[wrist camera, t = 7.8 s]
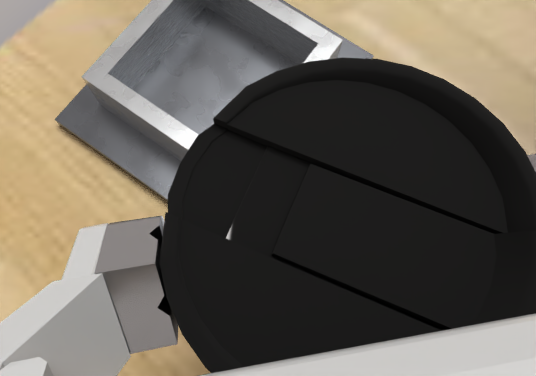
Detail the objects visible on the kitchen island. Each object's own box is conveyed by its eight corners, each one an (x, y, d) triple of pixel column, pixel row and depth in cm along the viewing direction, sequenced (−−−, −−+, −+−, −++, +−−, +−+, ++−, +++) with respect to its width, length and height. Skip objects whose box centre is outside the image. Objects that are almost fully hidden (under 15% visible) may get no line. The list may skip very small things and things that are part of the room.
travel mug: (330, 389, 25) (528, 553, 6) (210, 334, 26) (60, 331, 7) (373, 273, 27) (637, 121, 8) (260, 225, 28) (247, -23, 9)
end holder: (206, -38, 42) (200, -87, 37) (370, 62, 40) (386, 24, 35) (59, 125, 38) (31, 93, 33) (234, 249, 35) (231, 234, 30)
